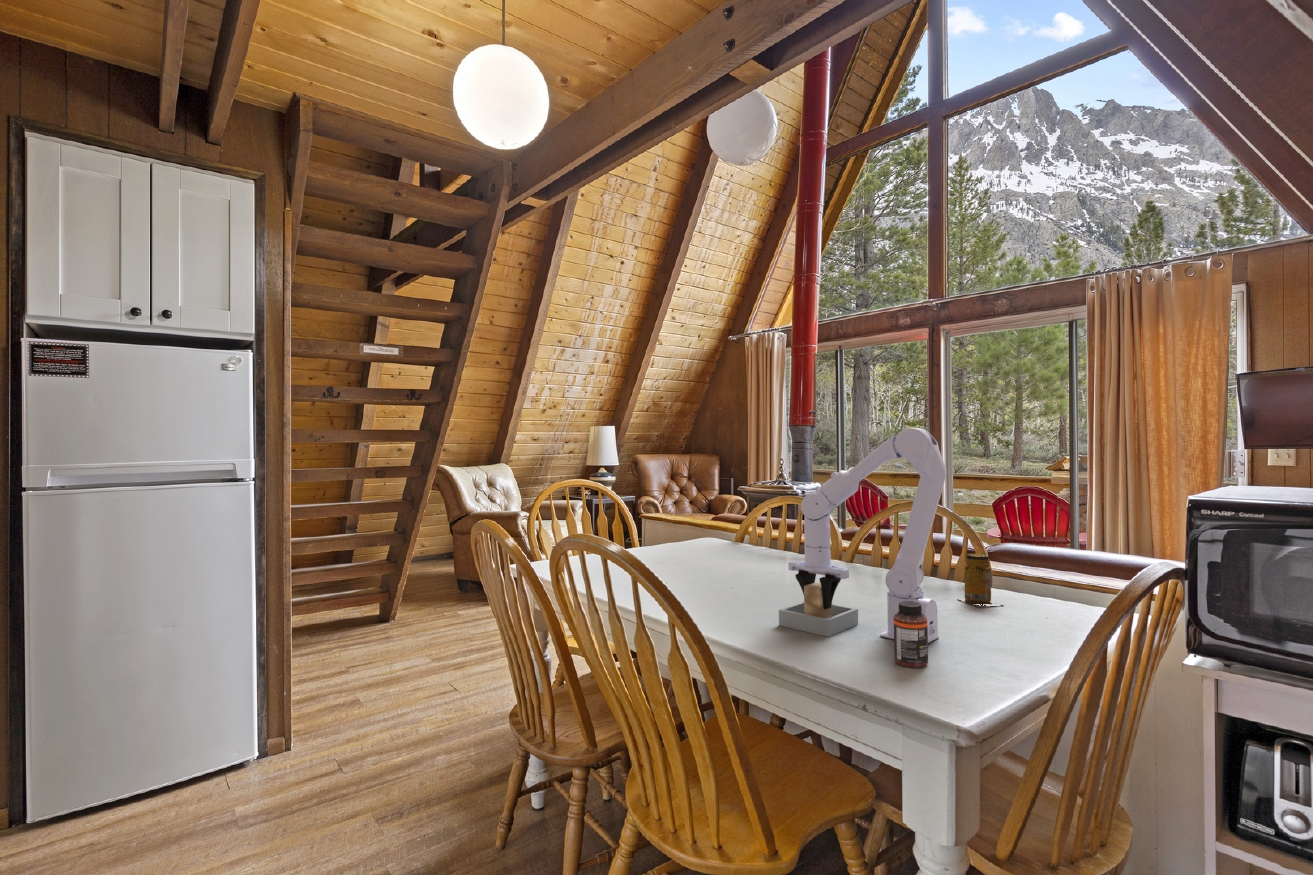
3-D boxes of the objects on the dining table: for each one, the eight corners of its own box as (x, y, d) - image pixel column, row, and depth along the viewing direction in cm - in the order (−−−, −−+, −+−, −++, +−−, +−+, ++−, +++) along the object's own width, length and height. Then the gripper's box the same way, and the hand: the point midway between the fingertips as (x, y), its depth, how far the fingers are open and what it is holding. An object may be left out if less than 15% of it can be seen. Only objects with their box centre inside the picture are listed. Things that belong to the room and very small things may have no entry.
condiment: (980, 598, 171) (979, 551, 170) (1004, 606, 162) (1004, 557, 162) (955, 600, 169) (955, 553, 169) (979, 608, 161) (978, 559, 161)
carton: (832, 615, 149) (831, 584, 149) (820, 620, 145) (819, 588, 145) (816, 612, 152) (816, 582, 152) (804, 616, 148) (804, 585, 148)
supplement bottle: (900, 655, 127) (899, 597, 127) (932, 662, 123) (931, 602, 123) (889, 664, 123) (888, 603, 122) (922, 671, 119) (921, 608, 119)
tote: (858, 624, 148) (857, 608, 148) (828, 636, 140) (828, 620, 140) (809, 614, 157) (809, 599, 157) (778, 625, 149) (778, 609, 149)
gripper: (780, 544, 151) (781, 603, 151) (836, 552, 140) (837, 615, 141) (797, 540, 156) (798, 598, 156) (853, 547, 145) (854, 609, 145)
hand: (818, 606), depth 149 cm, fingers closed on carton, 4 cm apart
